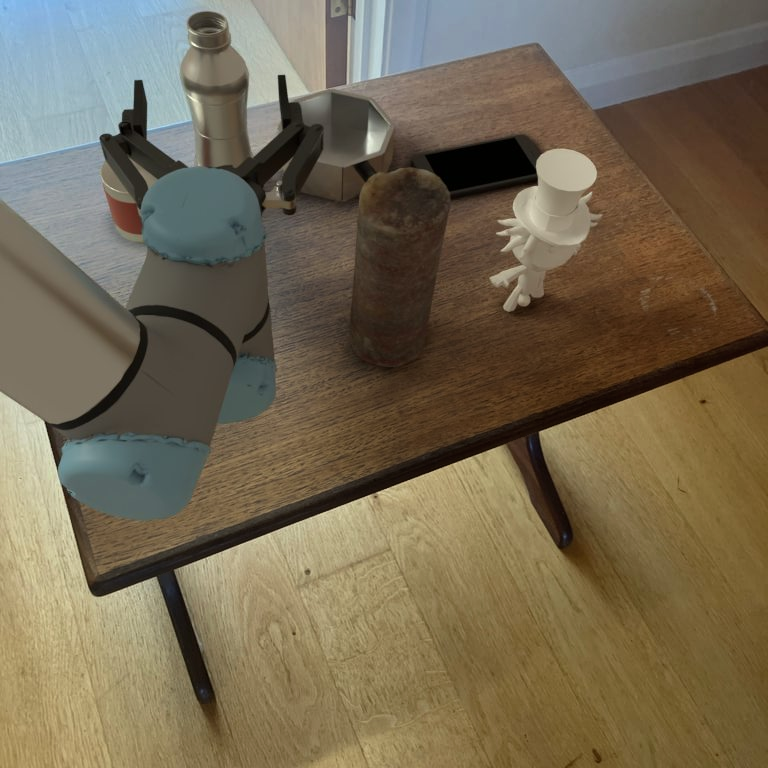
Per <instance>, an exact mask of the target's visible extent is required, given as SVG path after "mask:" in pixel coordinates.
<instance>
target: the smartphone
mask: <svg viewBox="0 0 768 768" xmlns="http://www.w3.org/2000/svg"><path fill="white" fill-rule="evenodd" d="M541 154H542V153H541V152H540V151H539V150H538V148H537V147H536V145H535V144H534V142H533V141H532V139H531V138H530V137H529V136H528V135H526V134H515V135H511V136H504V137H501V138H494V139H490V140H484V141H480V142H479V141H478V142H475V143H470V144H464V145H459V146H454V147H449V148H443V149H438V150H433V151H429V152H424V153H419V154H416V155H414V156H413V157H412V158H411V161H410V162H411V163H410V165H411V167H412V168H417V169H423V170H427V171H429V172H432V173H433V174H436V175H437V176H438V177H440V179H441V180H442V182H443V183H444V184H445V185H446V186H447V188H448V191H449V192H450V199H453V198H458V197H462V196H466V195H467V196H468V195H471V194H472V195H473V194H476V193H481V192H486V191H490V190H496V189H499V188H505V187H510V186H515V185H519V184H523V183H524V184H525V183H528V182H529V183H530V182H534V181H538V175H537V170H536V163H537V159H538V158H539V157H540V155H541Z"/></svg>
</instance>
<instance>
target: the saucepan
mask: <svg viewBox="0 0 768 768" xmlns="http://www.w3.org/2000/svg"><path fill="white" fill-rule="evenodd" d="M290 102H299V104H300V105H301V111H302V118H303V123H304V124H305V125H306V126H309V127H311V126H312V125H314V124H320V125H322V126H323V128H324V149H323V151H322V153H321V155H320V157H319V158H318V160H317V162H316V164H315V166H314V167H313V169H312V171H311V173H310V175H309V176H308V178H307V180H306V182H305V183H304V185H303V187H302V189H301V191H300V192H299V193H302V194H306V195H311V196H315V197H319V198H323V199H326V200H331V201H336V202H339V203H342V202H343V203H344V202H347V201H349V200H353V199H355V198H359V197H360V193H361V190H362V187H363V185H364V184H365V183H366V182H367V181H368V179H369V178H370V177H371V176H373V175H374V174H377V173H379V172H383V173H389V169H390V166H391V164H392V161H393V154H394V145H395V132H396V123H395V122H394V120H392V119H391V117H390V116H389V115H388V114H387V113H386V111H385V110H384V109H383V107H382V106H381V105H380V104H379V103H378V101H376V100H375V98H373V97H370V96H366V95H363V94H357V93H353V92H348V91H344V90H339V89H335V88H327V89H324V90H321V91H318V92H315V93H312V94H309V95H305V96H302V97H299V98H296V99H292V101H290ZM276 131H277V135H278V134H279V133H280V132H282V122H281V121H280V122H279V124H278V126H277V128H276ZM293 157H294V156H293ZM293 157H292V158H293ZM292 158H291V159H290V160H289V161H288V162H287V163H286V164H285V165H284V166H283V167H282V168H281V169H282V170H283V173H284V172H285V170H286V169H287V167H288V165H289V163H290V162H291V160H292Z"/></svg>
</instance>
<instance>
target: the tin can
mask: <svg viewBox="0 0 768 768" xmlns="http://www.w3.org/2000/svg"><path fill="white" fill-rule="evenodd" d="M129 159H130V158H129ZM130 160H131V162H132V163H133V164H134V166H135V167H136V168H137V170H138V171H139V172H140V174H141V175H142V176H143V178H144V179H145V181H146V183H147V186H148V188H150V187H151V186H152V185H153V184H154V183H155V182H156V181H157V180H158V179H157V178H155V177H154V176H153V175H151V174H150V173H149V172H147V171H146V170H145V169H143V168H142V167H141V166H139V165H138V164H137V163H136V162H134V161H133V160H132V159H130ZM100 178H101V179H100V180H101V181H102V187H103V191H104V194H105V199H106V201H107V204H108V207H109V212H110V214H111V217H112V220H113V223H114V226H115V228H116V231H117V232H118V234H119V235H121V237H122V238H124V239H126V240H128V241H131V242H134V243H140V244H145V243H144V241H143V235H142V231H141V229H142V227H143V226H142V222H141V220H140V216H139V212H138V209H137V205H136V202H135V201H134V200H133V198H132V197H131V195H130V194H129V193H128V191H127V190H126V188H125V187H124V186H123V184H122V183H121V181H120V180H119V179H118V177H117V176H116V174H115V173H114V172H113V170H112V169H111V168H110V166H109V165H108V163H107V162H106V160H105V159H104V161H103V163H102V165H101V167H100Z"/></svg>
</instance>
